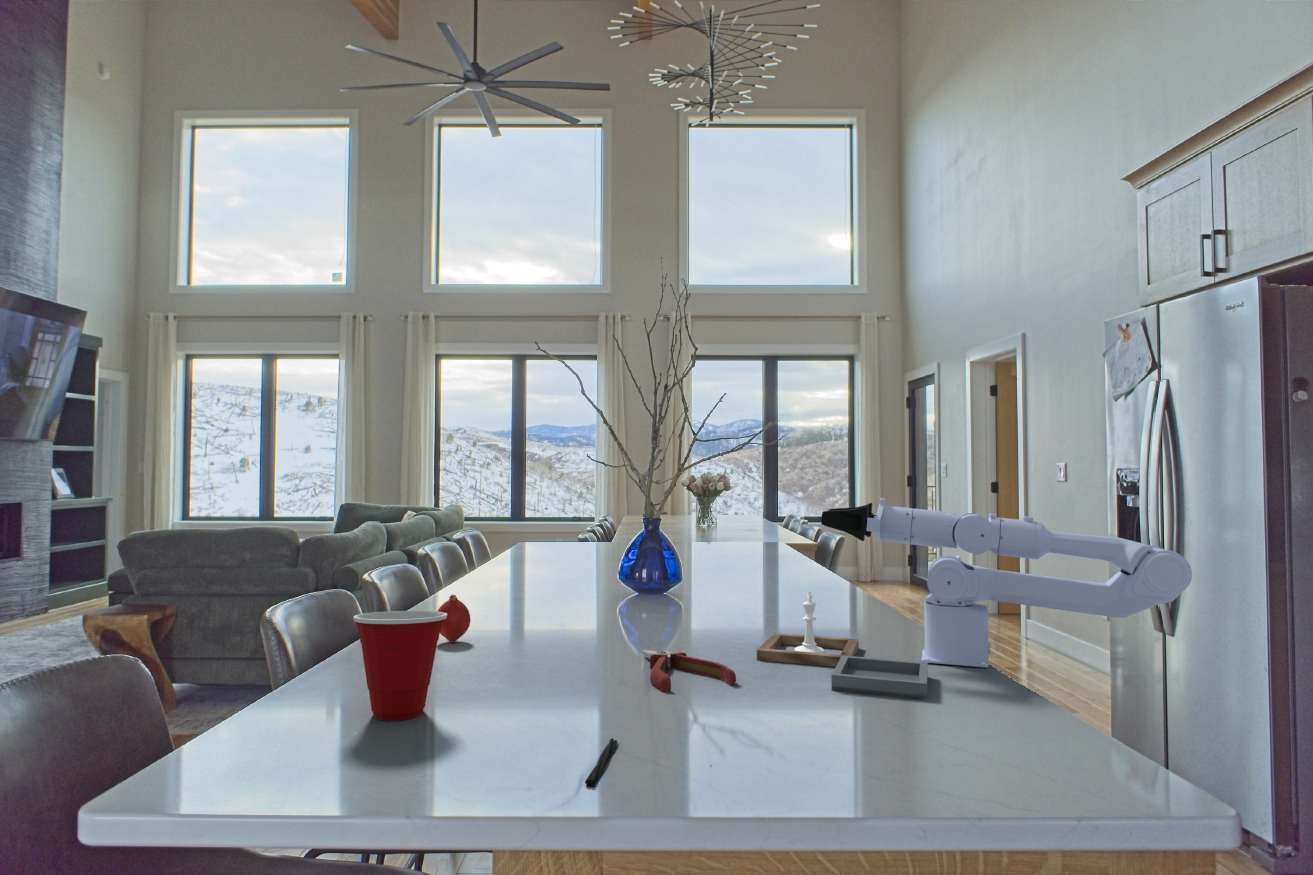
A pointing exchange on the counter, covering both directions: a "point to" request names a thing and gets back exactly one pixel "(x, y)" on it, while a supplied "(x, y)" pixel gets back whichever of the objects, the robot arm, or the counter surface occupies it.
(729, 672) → the pliers
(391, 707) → the plastic cup
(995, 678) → the counter surface
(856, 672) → the tray
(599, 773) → the electrical cable
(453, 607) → the onion
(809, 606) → the chess piece
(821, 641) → the brown square frame
